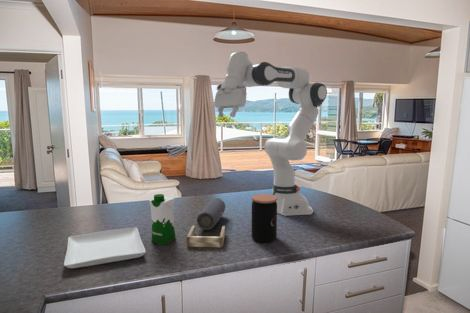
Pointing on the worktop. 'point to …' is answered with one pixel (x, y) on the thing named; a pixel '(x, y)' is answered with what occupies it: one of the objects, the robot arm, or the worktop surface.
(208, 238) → the birch bay
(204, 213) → the bluetooth speaker
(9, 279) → the worktop surface
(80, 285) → the worktop surface
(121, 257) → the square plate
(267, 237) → the coffee jar
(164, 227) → the milk carton
